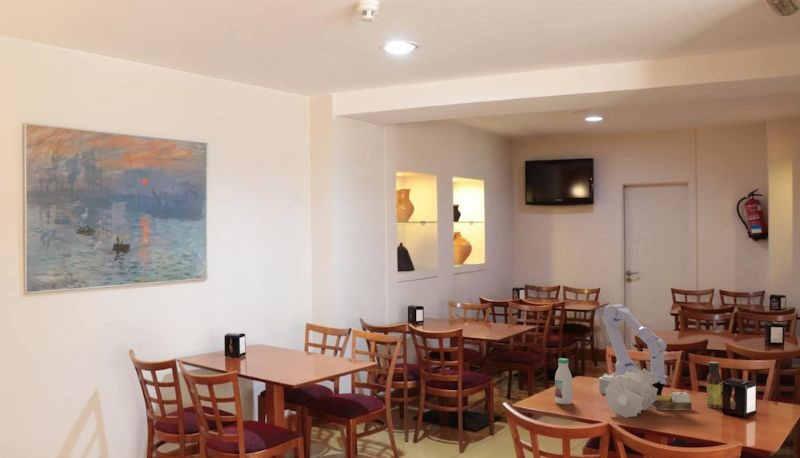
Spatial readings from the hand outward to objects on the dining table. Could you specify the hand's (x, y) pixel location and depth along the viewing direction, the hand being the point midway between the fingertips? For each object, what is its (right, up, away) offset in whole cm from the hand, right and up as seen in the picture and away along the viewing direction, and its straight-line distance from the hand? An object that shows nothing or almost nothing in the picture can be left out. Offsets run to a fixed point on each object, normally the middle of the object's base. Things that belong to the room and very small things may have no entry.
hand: (657, 396), depth 290 cm
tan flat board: (+4, -4, -5) cm, 7 cm away
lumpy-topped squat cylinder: (-12, -5, +25) cm, 28 cm away
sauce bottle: (+24, -4, -4) cm, 24 cm away
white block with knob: (+8, -1, -5) cm, 10 cm away
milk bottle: (-41, -5, +6) cm, 41 cm away
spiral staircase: (-16, -4, -11) cm, 20 cm away
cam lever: (0, -1, -4) cm, 4 cm away
